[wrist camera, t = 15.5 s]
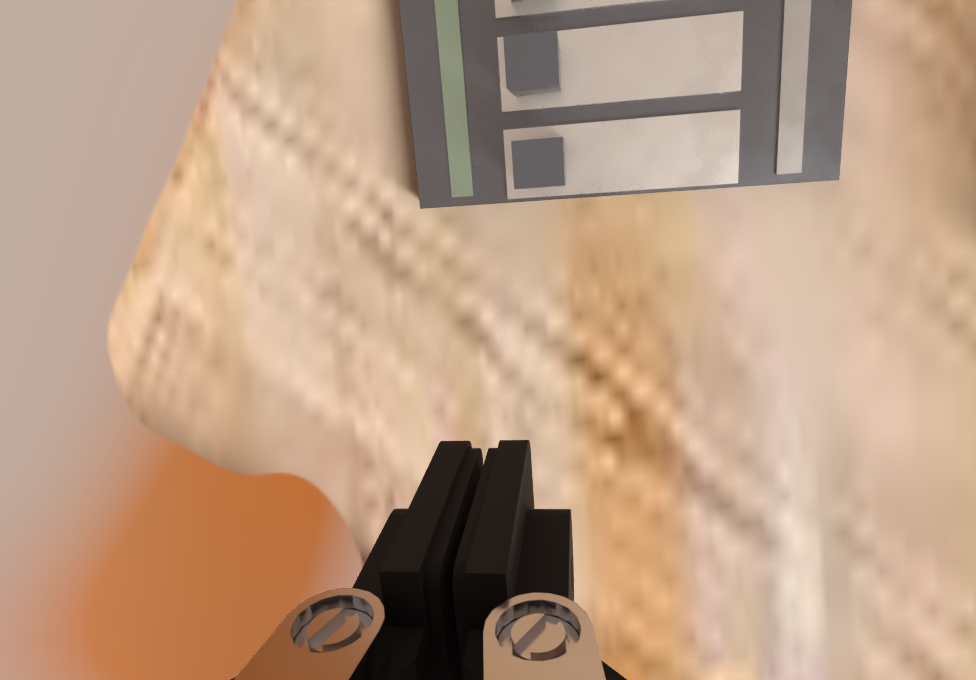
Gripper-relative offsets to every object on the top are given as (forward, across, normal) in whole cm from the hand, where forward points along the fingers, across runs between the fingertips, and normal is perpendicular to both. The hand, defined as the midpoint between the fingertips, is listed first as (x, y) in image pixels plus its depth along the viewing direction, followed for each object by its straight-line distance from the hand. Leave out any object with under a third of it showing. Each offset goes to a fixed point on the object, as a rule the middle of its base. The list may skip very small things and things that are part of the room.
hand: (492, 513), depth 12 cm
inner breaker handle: (+24, 0, -6) cm, 25 cm away
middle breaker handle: (+25, 0, -11) cm, 27 cm away
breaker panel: (+27, -4, -10) cm, 29 cm away
